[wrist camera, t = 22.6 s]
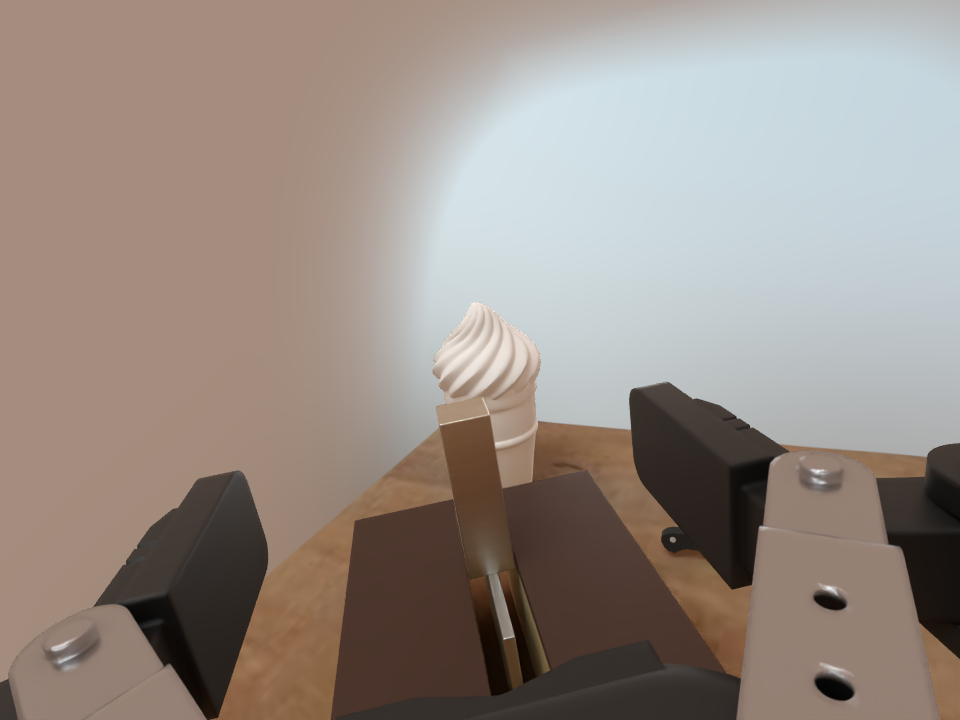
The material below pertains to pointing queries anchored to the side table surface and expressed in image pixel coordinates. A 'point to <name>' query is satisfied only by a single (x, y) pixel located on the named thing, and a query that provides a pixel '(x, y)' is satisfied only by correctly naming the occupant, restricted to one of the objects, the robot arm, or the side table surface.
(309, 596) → the side table surface
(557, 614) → the cake
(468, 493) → the tall metal bar
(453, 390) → the ice cream cone
